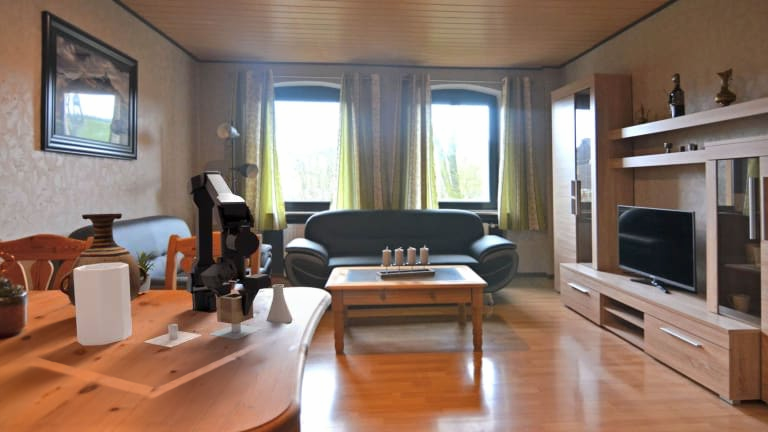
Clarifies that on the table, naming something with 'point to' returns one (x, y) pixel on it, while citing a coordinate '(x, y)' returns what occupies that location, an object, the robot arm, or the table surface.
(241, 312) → the walnut collar
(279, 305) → the flask
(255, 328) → the plate
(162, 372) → the table surface
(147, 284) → the house plant
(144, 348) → the table surface
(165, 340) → the rod stand
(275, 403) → the table surface
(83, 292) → the cup
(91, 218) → the vase
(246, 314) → the robot arm
